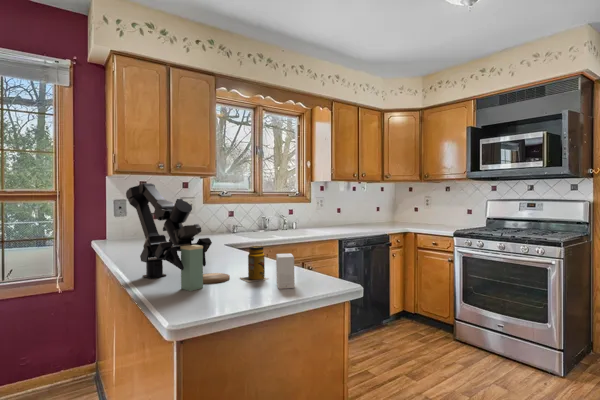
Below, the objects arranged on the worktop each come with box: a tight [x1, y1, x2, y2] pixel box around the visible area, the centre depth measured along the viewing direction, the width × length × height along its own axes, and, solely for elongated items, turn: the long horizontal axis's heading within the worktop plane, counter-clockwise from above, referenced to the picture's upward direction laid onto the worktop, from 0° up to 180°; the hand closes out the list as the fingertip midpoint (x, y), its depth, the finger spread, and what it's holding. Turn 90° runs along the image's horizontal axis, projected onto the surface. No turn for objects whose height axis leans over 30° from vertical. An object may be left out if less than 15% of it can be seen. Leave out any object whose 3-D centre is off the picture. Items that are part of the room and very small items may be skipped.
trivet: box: [203, 272, 231, 285], centre depth 133 cm, size 13×13×1 cm
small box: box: [275, 253, 296, 290], centre depth 122 cm, size 8×6×10 cm
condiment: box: [240, 245, 269, 283], centre depth 133 cm, size 7×8×12 cm
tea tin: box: [180, 245, 204, 292], centre depth 120 cm, size 5×5×14 cm
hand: (194, 267), depth 119 cm, fingers open, 8 cm apart
